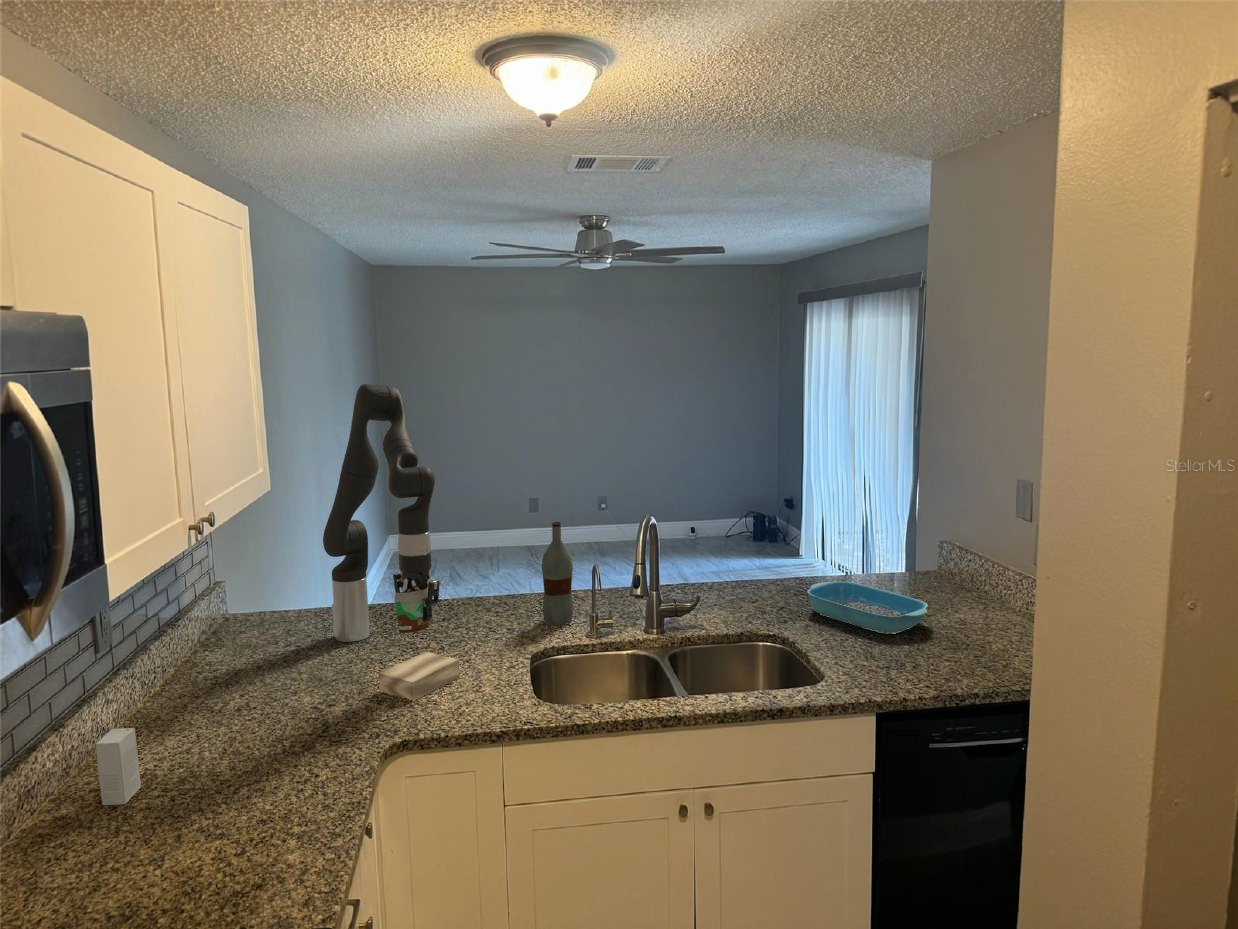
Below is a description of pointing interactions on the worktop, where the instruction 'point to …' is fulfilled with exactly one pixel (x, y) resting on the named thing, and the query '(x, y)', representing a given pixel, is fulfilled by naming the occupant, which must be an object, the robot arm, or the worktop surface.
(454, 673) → the maple block
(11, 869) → the worktop surface
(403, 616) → the food container
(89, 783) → the worktop surface
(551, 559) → the bottle
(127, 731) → the skincare box
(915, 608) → the casserole dish
